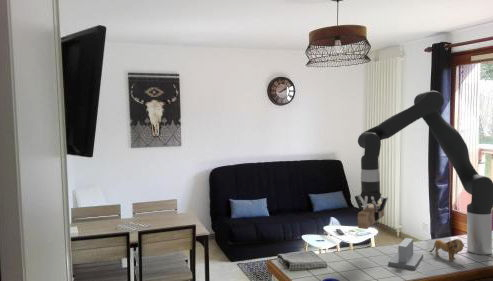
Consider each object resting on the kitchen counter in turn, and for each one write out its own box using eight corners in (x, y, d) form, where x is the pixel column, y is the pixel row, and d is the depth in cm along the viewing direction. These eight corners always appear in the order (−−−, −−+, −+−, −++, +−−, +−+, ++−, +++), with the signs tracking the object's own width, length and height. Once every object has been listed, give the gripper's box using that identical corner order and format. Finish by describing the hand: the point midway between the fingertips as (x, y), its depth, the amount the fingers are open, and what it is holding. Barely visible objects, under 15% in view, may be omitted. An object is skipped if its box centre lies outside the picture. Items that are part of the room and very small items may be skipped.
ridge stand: (398, 253, 172) (398, 235, 171) (423, 257, 166) (422, 238, 166) (388, 265, 159) (388, 245, 158) (414, 269, 153) (414, 249, 153)
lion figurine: (466, 260, 161) (466, 239, 160) (459, 263, 158) (459, 241, 157) (432, 251, 173) (432, 231, 172) (425, 254, 170) (425, 233, 169)
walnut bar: (376, 214, 177) (375, 201, 177) (384, 215, 175) (383, 202, 175) (358, 228, 158) (357, 213, 158) (366, 229, 156) (366, 214, 156)
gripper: (390, 179, 165) (391, 219, 166) (357, 177, 173) (358, 216, 174) (384, 181, 159) (386, 224, 159) (350, 180, 167) (352, 220, 168)
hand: (371, 219), depth 167 cm, fingers closed on walnut bar, 3 cm apart
